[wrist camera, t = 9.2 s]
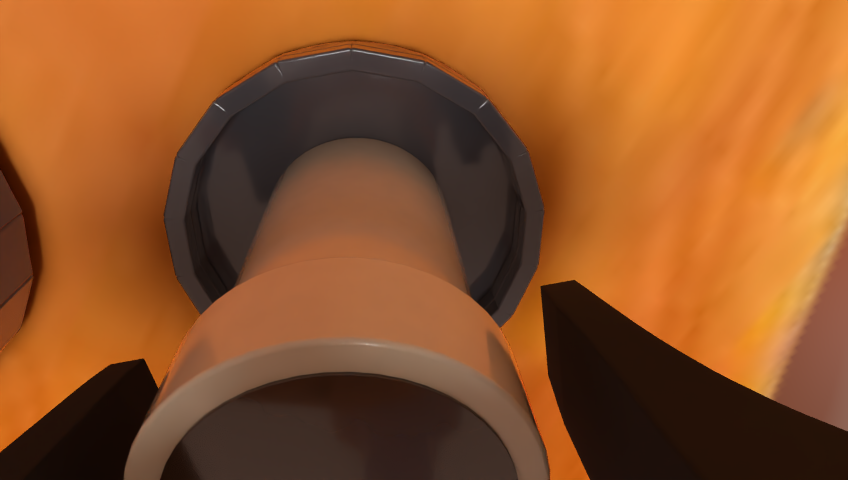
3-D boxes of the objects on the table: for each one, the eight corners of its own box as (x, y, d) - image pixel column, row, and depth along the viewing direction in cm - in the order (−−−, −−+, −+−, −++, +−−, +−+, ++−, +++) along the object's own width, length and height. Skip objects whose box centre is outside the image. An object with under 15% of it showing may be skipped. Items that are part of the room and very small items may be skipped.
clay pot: (474, 291, 17) (564, 603, 9) (285, 326, 17) (205, 666, 9) (446, 102, 14) (536, 302, 6) (223, 143, 14) (36, 392, 6)
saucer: (543, 325, 18) (556, 355, 17) (243, 379, 18) (233, 414, 17) (514, 7, 14) (530, 14, 13) (124, 79, 14) (97, 93, 13)
